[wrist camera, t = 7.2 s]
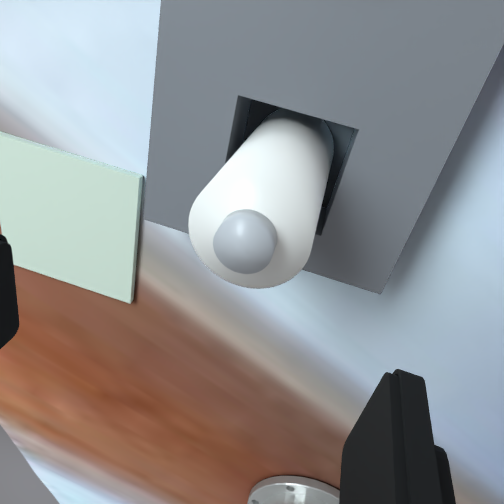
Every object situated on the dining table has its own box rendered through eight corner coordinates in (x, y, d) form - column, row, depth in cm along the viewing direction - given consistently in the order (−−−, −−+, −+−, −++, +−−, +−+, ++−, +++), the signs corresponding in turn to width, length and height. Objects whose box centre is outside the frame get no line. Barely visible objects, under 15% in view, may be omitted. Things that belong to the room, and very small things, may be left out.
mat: (142, 175, 31) (139, 178, 30) (133, 299, 37) (130, 303, 37) (-6, 129, 32) (-12, 131, 31) (10, 258, 38) (5, 261, 38)
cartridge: (345, 120, 26) (327, 209, 15) (319, 196, 29) (289, 317, 18) (263, 97, 26) (188, 167, 15) (246, 174, 29) (172, 279, 18)
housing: (604, -222, 17) (661, -276, 14) (379, 261, 30) (380, 294, 27) (224, -300, 18) (191, -366, 15) (167, 195, 31) (143, 219, 28)
